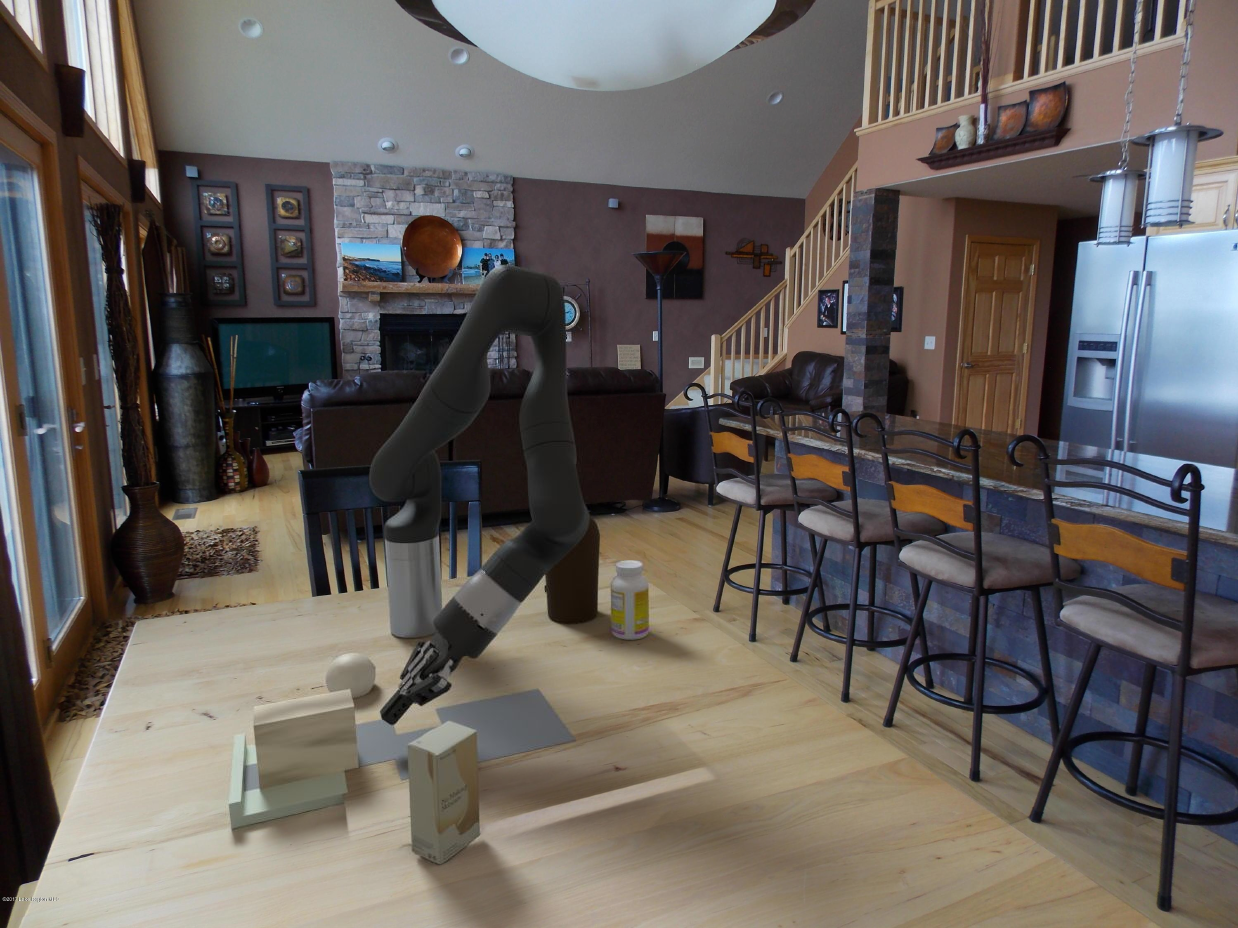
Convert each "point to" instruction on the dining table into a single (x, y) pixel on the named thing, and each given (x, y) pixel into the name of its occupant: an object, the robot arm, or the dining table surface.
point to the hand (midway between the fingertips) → (385, 719)
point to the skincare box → (443, 791)
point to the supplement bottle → (629, 601)
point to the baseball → (351, 674)
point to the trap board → (396, 753)
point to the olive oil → (575, 581)
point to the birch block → (305, 738)
